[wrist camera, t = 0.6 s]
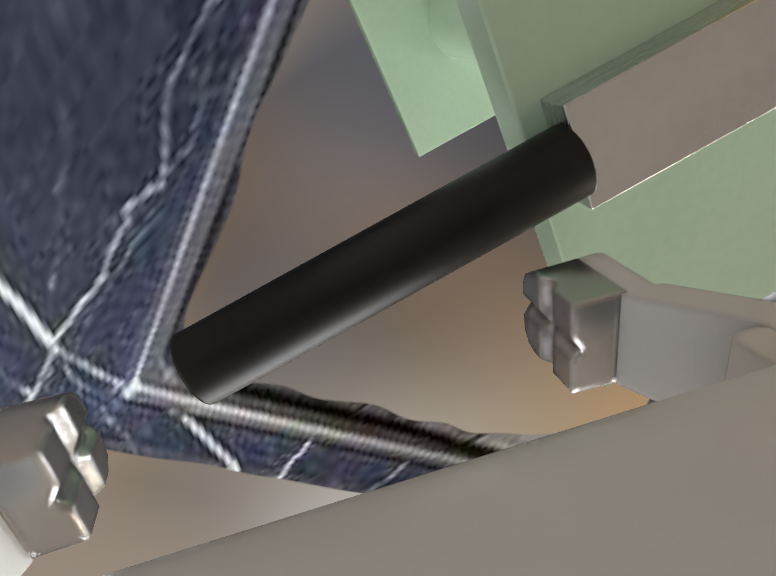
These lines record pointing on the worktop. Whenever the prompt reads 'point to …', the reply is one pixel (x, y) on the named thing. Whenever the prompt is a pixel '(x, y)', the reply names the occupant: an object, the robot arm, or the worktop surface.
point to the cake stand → (526, 119)
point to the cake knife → (506, 191)
